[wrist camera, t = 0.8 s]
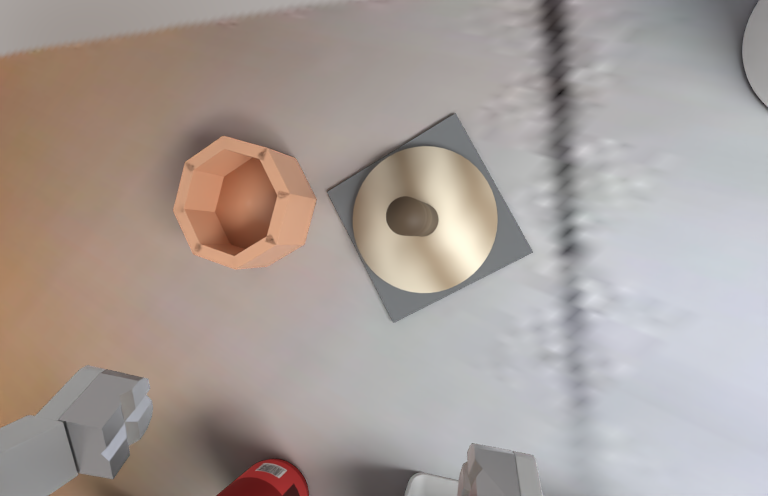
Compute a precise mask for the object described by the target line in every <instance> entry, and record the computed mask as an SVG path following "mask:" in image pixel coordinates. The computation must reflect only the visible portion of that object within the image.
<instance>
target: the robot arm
mask: <svg viewBox="0 0 768 496" xmlns="http://www.w3.org/2000/svg"><path fill="white" fill-rule="evenodd" d="M742 56H743V64H744V69H745V72H746V75H747V78H748V81H749V83H750V85H751V87H752V88H753V90H754V92H755V93H756V94H757V96H758V97H759V98H760V99H761V101H762V102H763V103H764V104H765V105H766V106H767V107H768V0H759V1H758V3H757V4H756V6H755V8H754V10H753V12H752V13H751V15H750V18H749V20H748V23H747V26H746V29H745V33H744V38H743V47H742ZM149 389H150V385H149V380H148V379H147V378H143V377H138V376H134V375H130V374H125V373H121V372H117V371H112V370H108V369H103V368H98V367H94V366H89V365H87V366H85V367H83V368H81V369H80V370H78V372H77V373H76V374H75V375H74V376H73V377H72V378H71V379H70V380H69V381H68V382H67V383H66V384H65V385H64V386H63V387H62V388H61V389H60V390H59V391H58V392H57V393H56V395H55V396H54V397H53V398H52V399H51V400H50V401H49V402H48V403H47V404H46V405H45V406H44V407H43V408H42V409H41V410H40V411H39V412H38V413H37V414H36V415H35V416H32V415H28V416H26V417H23V418H21V419H19V420H17V421H15V422H13V423H10V424H8V425H6V426H4V427H2V428H0V496H48V495H50V494H51V493H53V492H54V491H56V490H57V489H59V488H60V487H61V486H63V485H64V484H66V483H67V482H69V481H70V480H72V479H73V478H75V477H76V476H77V475H78V473H81V474H87V475H92V476H98V477H104V478H109V479H114V477H115V476H116V474H117V473H118V471H119V470H120V469H121V467H122V466H123V464H124V463H125V461H126V460H127V458H128V457H129V455H130V451H129V445H131V444H133V443H134V442H136V441H138V440H140V439H141V437H142V436H143V434H144V433H145V431H146V430H147V428H148V425H149V423H150V420H151V417H152V411H153V405H152V400H151V399H150V398H149V397H148V396H147V395H146V394H147V392H148V391H149ZM467 460H468V462H466V463H464V464H463V465H462V469H461V472H460V476H459V482H458V493H457V496H543V494H542V489H541V484H540V478H539V473H538V468H537V462H536V459H535V457H534V456H533V455H530V454H525V453H520V452H515V451H511V450H507V449H501V448H496V447H491V446H485V445H480V444H475V443H472V444H471V445H470V447H469V449H468V452H467Z"/></svg>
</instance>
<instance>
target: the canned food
mask: <svg viewBox="0 0 768 496" xmlns="http://www.w3.org/2000/svg"><path fill="white" fill-rule="evenodd" d="M216 496H309V491H308V486H307V483H306V480H305V479H304V477H303V475H302V474H301V472H300V471H299V470H298V469H297V468H296V467H295V466H293V465H292V464H290V463H289V462H287V461H284V460H281V459H267V460H264V461H260V462H258V463H256V464H254V465H253V466H252V467H250V468H249V469H248V470H247V471H246V472H244V473H243V474H242V475H241V476H239V477H238V478H237V479H236V480H235V481H233V482H232V483H231V484H230V485H229V486H227V487H226V488H225V489H224V490H222V491H221V492H220V493H219V494H218V495H216Z"/></svg>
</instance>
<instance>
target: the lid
mask: <svg viewBox="0 0 768 496" xmlns="http://www.w3.org/2000/svg"><path fill="white" fill-rule="evenodd" d="M497 224H498V215H497V206H496V201H495V198H494V195H493V192H492V190H491V188H490V186H489V184H488V182H487V180H486V179H485V177H484V176H483V174H482V173H481V172H480V171H479V170H478V169H477V167H476V166H474V165H473V164H472V163H471V162H470V161H469V160H467V159H466V158H464V157H463V156H461V155H459V154H457V153H455V152H453V151H450V150H447V149H444V148H439V147H433V146H420V147H413V148H408V149H404V150H402V151H399V152H396V153H395V154H393V155H391V156H389V157H387V158H386V159H384V160H383V161H382V162H380V163H379V164H378V165H377V166H376V167H375V168H374V169H373V170H372V171H371V172H370V173H369V175H368V176H367V177H366V179H365V180H364V182H363V184H362V186H361V188H360V190H359V192H358V194H357V197H356V200H355V205H354V209H353V231H354V237H355V241H356V244H357V247H358V249H359V251H360V254H361V256H362V257H363V259H364V261H365V262H366V264H367V265H368V266H369V267H370V269H371V270H372V271H373V272H374V273H375V274H376V275H377V276H378V277H380V278H381V279H382V280H384V281H385V282H387V283H389V284H390V285H392V286H394V287H397V288H399V289H402V290H405V291H409V292H415V293H433V292H439V291H443V290H446V289H449V288H451V287H454V286H456V285H458V284H460V283H461V282H463V281H465V280H466V279H467V278H469V277H470V276H471V275H472V274H474V273H475V272H476V271H477V270H478V269H479V268H480V266H481V265H482V264H483V262H484V261H485V260H486V258H487V256H488V255H489V253H490V251H491V249H492V246H493V243H494V241H495V237H496V232H497Z"/></svg>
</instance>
